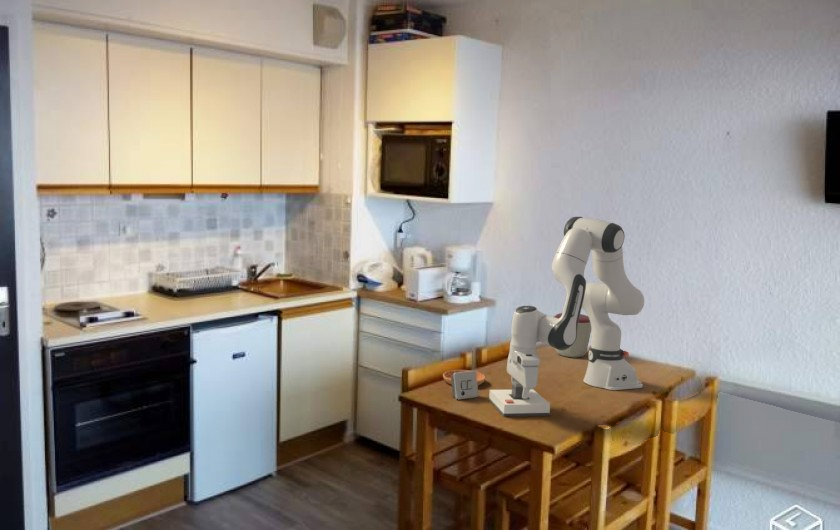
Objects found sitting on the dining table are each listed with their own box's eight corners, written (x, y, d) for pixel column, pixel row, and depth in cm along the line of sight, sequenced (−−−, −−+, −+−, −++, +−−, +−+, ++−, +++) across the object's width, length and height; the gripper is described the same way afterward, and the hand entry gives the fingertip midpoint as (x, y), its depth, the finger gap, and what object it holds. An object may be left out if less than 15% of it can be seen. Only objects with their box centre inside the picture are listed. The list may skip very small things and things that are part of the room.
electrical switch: (456, 400, 253) (457, 374, 253) (448, 397, 257) (448, 371, 257) (478, 397, 258) (479, 371, 257) (470, 394, 262) (470, 369, 262)
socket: (532, 400, 258) (533, 387, 257) (549, 415, 242) (550, 402, 242) (488, 400, 255) (489, 388, 254) (503, 416, 239) (504, 403, 238)
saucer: (435, 383, 272) (435, 376, 272) (453, 374, 286) (454, 366, 286) (474, 392, 265) (475, 384, 264) (491, 382, 279) (492, 374, 278)
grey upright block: (522, 403, 251) (524, 380, 250) (526, 406, 247) (528, 384, 246) (510, 403, 250) (512, 380, 249) (514, 407, 246) (516, 384, 245)
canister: (567, 347, 339) (571, 303, 336) (599, 357, 325) (603, 310, 322) (541, 352, 328) (545, 306, 325) (573, 362, 314) (577, 314, 311)
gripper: (503, 346, 255) (501, 384, 257) (524, 362, 236) (520, 403, 237) (520, 346, 257) (518, 384, 259) (542, 362, 237) (539, 403, 239)
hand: (519, 393), depth 248 cm, fingers open, 8 cm apart
